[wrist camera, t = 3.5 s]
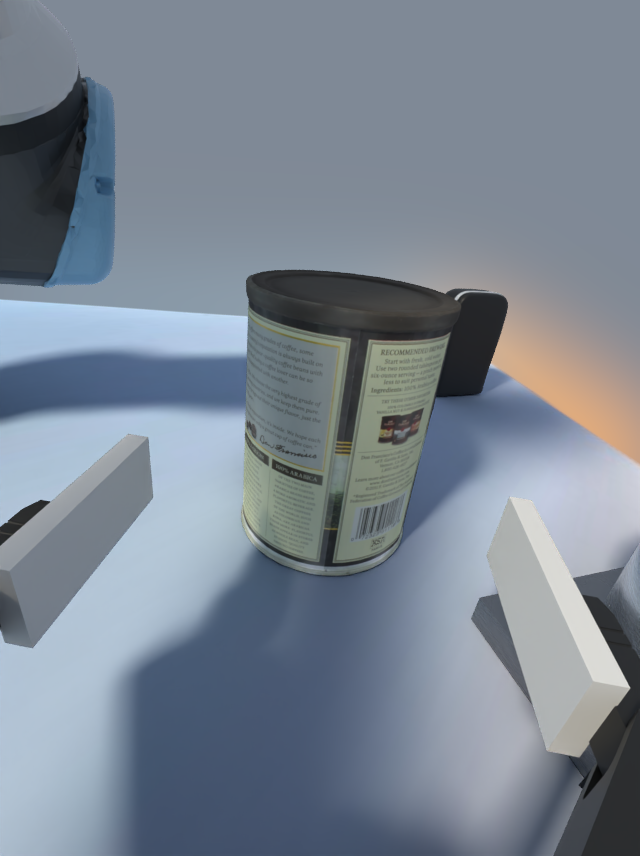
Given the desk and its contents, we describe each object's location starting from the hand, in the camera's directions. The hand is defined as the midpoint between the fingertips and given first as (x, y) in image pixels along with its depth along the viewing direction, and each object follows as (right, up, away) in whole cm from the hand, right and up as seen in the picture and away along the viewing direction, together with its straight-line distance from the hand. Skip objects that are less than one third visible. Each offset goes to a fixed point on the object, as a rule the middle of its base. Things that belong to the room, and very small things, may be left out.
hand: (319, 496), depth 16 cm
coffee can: (0, -3, +12) cm, 12 cm away
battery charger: (+15, +7, +34) cm, 38 cm away
